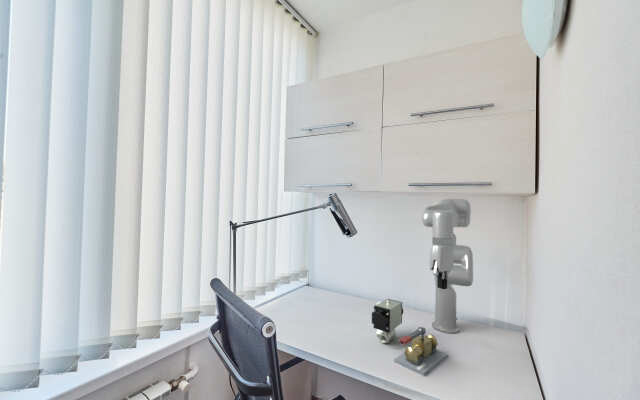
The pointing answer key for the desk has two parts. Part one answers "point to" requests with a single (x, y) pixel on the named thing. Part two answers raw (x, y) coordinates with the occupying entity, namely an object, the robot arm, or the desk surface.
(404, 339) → the lever
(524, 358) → the desk surface
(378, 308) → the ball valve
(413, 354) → the valve pipe
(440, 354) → the base board
